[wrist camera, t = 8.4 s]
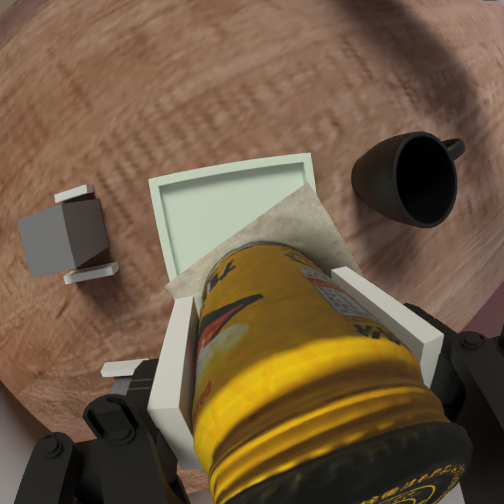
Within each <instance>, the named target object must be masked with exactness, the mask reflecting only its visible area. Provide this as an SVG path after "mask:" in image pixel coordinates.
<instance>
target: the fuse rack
mask: <svg viewBox="0 0 504 504" xmlns="http://www.w3.org/2000/svg"><path fill="white" fill-rule="evenodd" d="M93 192H94V191H93V185H83V186H80V187H77V188H74V189H71V190H68V191H65V192H62V193H59V194H56V195H54V196H55V202H56V203H57V202H64V201H67V200H70V199H73V198H76V197H79V196H82V195H86V194H89V193H93ZM18 224H19V229H20V233H21V238H22V242H23V247H24V251H25V255H26V259H27V262H28V266H29V270H30V273H31V276H32V278H34V277H38V276H42V275H47V274H51V273H56V272H60V271H65V270H70V269H74V268H77V267H78V266H80V265H81V264H83V263H84V262H86V261H87V260H89V259H90V258H92V257H94V256H95V255H97V254H98V253H100V252H101V251H103V250H105V249H106V248H108V247H109V244H108V239H107V235H106V231H105V226H104V221H103V216H102V211H101V206H100V201H99V199H93V200H86V201H79V202H72V203H66V204H60V205H57V206H54V207H51V208H48V209H46V210H43V211H40V212H37V213H34V214H31V215H29V216H26V217H23V218H21V219H18ZM118 270H119V266H118V262H113V263H108V264H103V265H99V266H94V267H89V268H84V269H80V270H75V271H71V272H70V273H68V274H67V275H65V276H64V280H65V284H68V283H73V282H79V281H84V280H89V279H94V278H99V277H104V276H110V275H114V274H115V273H116V272H117V271H118ZM143 360H149V358H147V359H138V360H129V361H118V362H105V364H104V366H103V368H102V370H101V374H102V376H103V377H113V376H127V375H133V373H134V370H135V369H136V368H137V366H138V365H139V364H140V363H141V362H142V361H143ZM131 378H132V377H126V378H116V380H115V382H114V385H113V387H112V389H111V392H110V394H121V395H125V396H126V393H127V390H129V389H128V387H129V384H130V382H131Z"/></svg>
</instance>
